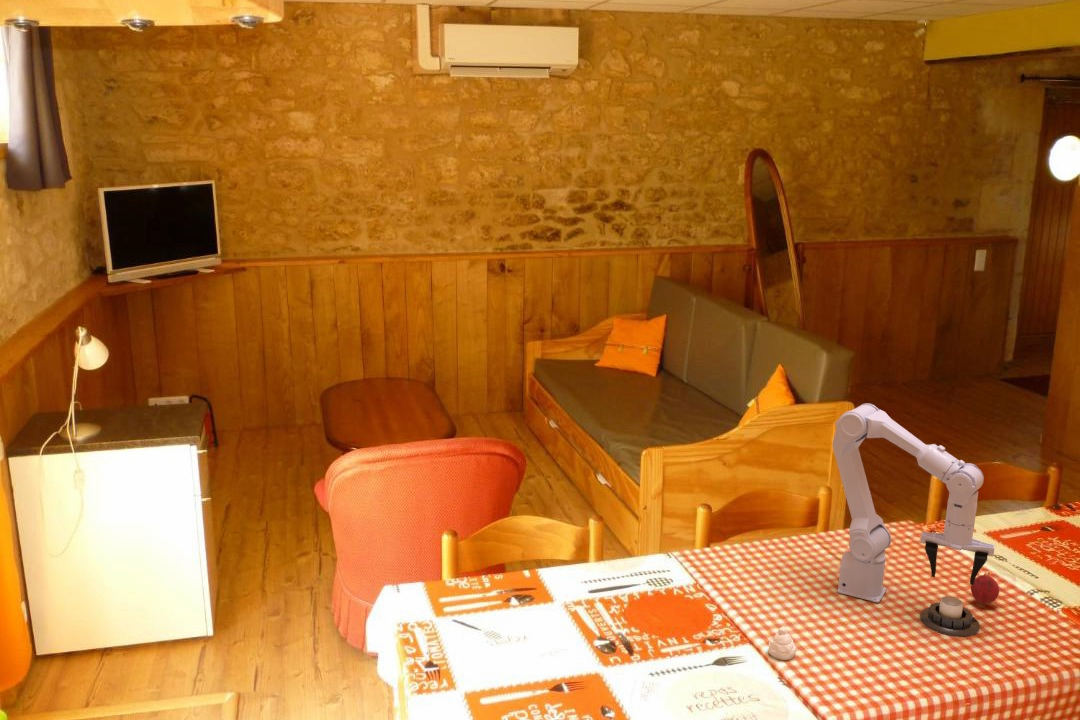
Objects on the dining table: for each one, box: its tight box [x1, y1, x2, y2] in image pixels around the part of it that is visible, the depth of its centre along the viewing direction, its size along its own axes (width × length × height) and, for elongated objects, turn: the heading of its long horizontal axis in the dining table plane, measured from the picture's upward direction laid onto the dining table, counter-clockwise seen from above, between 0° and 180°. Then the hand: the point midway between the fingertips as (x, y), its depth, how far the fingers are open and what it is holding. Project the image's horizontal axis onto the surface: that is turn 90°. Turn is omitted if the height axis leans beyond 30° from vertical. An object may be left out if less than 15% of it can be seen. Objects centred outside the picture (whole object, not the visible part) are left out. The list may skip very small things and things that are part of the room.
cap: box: [939, 595, 964, 619], centre depth 208 cm, size 5×5×5 cm
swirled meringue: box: [768, 626, 797, 661], centre depth 195 cm, size 6×6×5 cm
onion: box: [970, 570, 1000, 606], centre depth 216 cm, size 6×6×8 cm
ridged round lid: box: [919, 601, 981, 638], centre depth 209 cm, size 12×12×3 cm
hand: (952, 579), depth 208 cm, fingers open, 7 cm apart
